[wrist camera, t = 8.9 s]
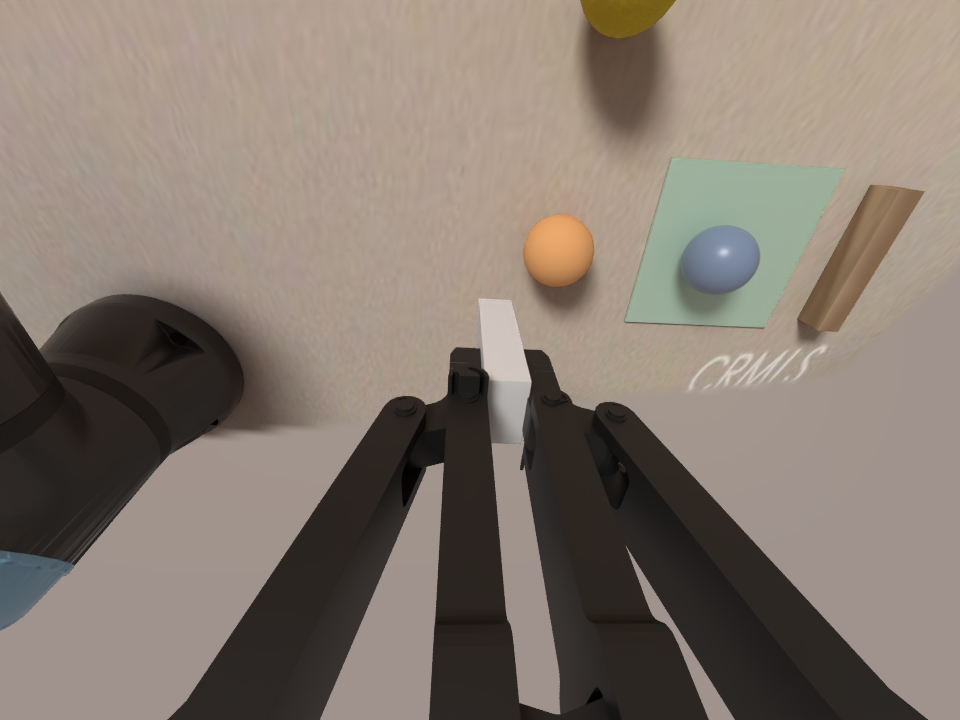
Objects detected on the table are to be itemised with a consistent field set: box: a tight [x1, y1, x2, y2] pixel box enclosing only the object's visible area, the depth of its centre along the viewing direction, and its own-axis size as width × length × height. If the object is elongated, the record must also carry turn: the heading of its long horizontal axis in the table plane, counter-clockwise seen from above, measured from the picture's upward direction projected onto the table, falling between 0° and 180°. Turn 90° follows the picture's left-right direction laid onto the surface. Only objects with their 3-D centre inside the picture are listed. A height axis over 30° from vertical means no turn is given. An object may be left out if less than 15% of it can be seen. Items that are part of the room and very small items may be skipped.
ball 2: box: [681, 225, 760, 295], centre depth 32 cm, size 6×6×6 cm
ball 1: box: [523, 215, 594, 287], centre depth 31 cm, size 6×6×6 cm
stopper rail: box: [798, 185, 924, 332], centre depth 34 cm, size 2×12×2 cm, turn 177°
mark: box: [624, 157, 845, 328], centre depth 34 cm, size 14×14×1 cm
